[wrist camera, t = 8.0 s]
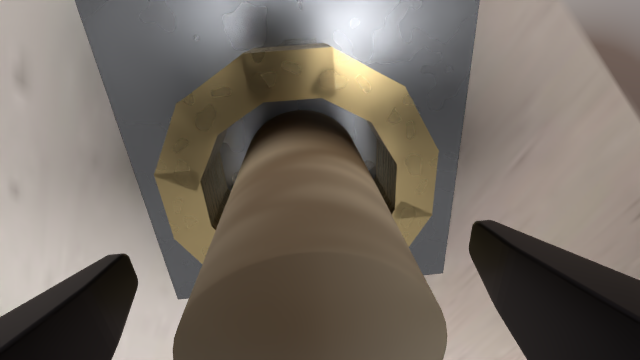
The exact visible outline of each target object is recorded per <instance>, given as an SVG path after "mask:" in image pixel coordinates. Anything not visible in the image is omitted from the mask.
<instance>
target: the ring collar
mask: <svg viewBox="0 0 640 360" xmlns="http://www.w3.org/2000/svg"><path fill="white" fill-rule="evenodd" d="M479 1H480V0H75V2H76V5H77V8H78V11H79V14H80V17H81V20H82V23H83V26H84V28H85V31H86V34H87V37H88V40H89V43H90V46H91V49H92V52H93V54H94V57H95V60H96V63H97V66H98V69H99V72H100V75H101V78H102V81H103V83H104V86H105V89H106V92H107V95H108V98H109V101H110V104H111V107H112V110H113V112H114V115H115V118H116V121H117V124H118V127H119V130H120V133H121V136H122V139H123V141H124V144H125V147H126V150H127V153H128V156H129V159H130V162H131V165H132V168H133V170H134V173H135V176H136V179H137V182H138V185H139V188H140V191H141V194H142V196H143V199H144V202H145V205H146V208H147V211H148V214H149V217H150V220H151V223H152V225H153V228H154V231H155V234H156V237H157V240H158V243H159V246H160V249H161V252H162V254H163V257H164V260H165V263H166V266H167V269H168V272H169V275H170V278H171V281H172V283H173V286H174V289H175V292H176V295H177V298H178V299H187V298H189V297H190V295H191V292H192V290H193V287H194V285H195V282H196V279H197V277H198V274H199V272H200V269H201V267H202V264H203V262H204V259H205V257H206V254H207V251H208V249H209V246H210V244H211V241H212V239H213V236H214V234H215V231H216V229H217V226H218V224H219V221H220V218H221V216H222V213H223V211H224V208H225V206H226V203H227V201H228V198H229V196H230V193H231V190H232V188H233V185H234V183H235V180H236V178H237V175H238V173H239V170H240V168H241V165H242V162H243V160H244V157H245V155H246V152H247V150H248V147H249V145H250V142H251V140H252V138H253V136H254V135H255V134H256V132H257V131H258V130H259V129H260V128H261V126H262V125H264V124H265V123H266V122H267V121H269V120H270V119H272V118H274V117H275V116H277V115H280V114H282V113H286V112H289V111H295V110H309V111H315V112H319V113H322V114H325V115H327V116H329V117H331V118H333V119H334V120H336V121H337V122H338V123H340V124H341V125H342V126H343V127H344V128H345V129H346V131H347V132H348V133H349V135H350V136H351V138H352V140H353V142H354V144H355V146H356V147H357V149H358V151H359V153H360V155H361V157H362V159H363V161H364V163H365V165H366V167H367V169H368V170H369V172H370V174H371V176H372V178H373V180H374V182H375V184H376V186H377V188H378V190H379V192H380V193H381V195H382V197H383V199H384V201H385V203H386V205H387V207H388V209H389V211H390V213H391V214H392V216H393V218H394V220H395V222H396V224H397V226H398V228H399V230H400V232H401V234H402V236H403V237H404V239H405V241H406V243H407V245H408V247H409V249H410V251H411V253H412V255H413V257H414V259H415V260H416V262H417V264H418V266H419V268H420V270H421V272H422V274H423V275H430V274H440V273H443V269H444V261H445V254H446V247H447V239H448V232H449V224H450V217H451V209H452V202H453V195H454V187H455V180H456V172H457V165H458V157H459V150H460V143H461V135H462V128H463V120H464V113H465V105H466V98H467V91H468V83H469V76H470V68H471V61H472V53H473V46H474V39H475V31H476V24H477V16H478V9H479Z"/></svg>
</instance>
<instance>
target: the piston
mask: <svg viewBox="0 0 640 360" xmlns="http://www.w3.org/2000/svg"><path fill="white" fill-rule="evenodd" d="M446 344H447V329H446V322H445V319H444V316H443V313H442V310H441V308H440V306H439V304H438V303H437V301H436V299H435V297H434V295H433V293H432V291H431V289H430V287H429V285H428V283H427V282H426V280H425V278H424V276H423V274H422V272H421V270H420V268H419V266H418V264H417V262H416V260H415V259H414V257H413V255H412V253H411V251H410V249H409V247H408V245H407V243H406V241H405V239H404V237H403V236H402V234H401V232H400V230H399V228H398V226H397V224H396V222H395V220H394V218H393V216H392V214H391V213H390V211H389V209H388V207H387V205H386V203H385V201H384V199H383V197H382V195H381V193H380V192H379V190H378V188H377V186H376V184H375V182H374V180H373V178H372V176H371V174H370V172H369V170H368V169H367V167H366V165H365V163H364V161H363V159H362V157H361V155H360V153H359V151H358V149H357V147H356V146H355V144H354V142H353V140H352V138H351V136H350V135H349V133H348V132H347V131H346V129H345V128H344V127H343V126H342V125H341V124H340V123H338V122H337V121H336V120H334V119H333V118H331V117H329V116H327V115H325V114H322V113H319V112H315V111H309V110H295V111H289V112H286V113H282V114H280V115H277V116H275V117H274V118H272V119H270V120H269V121H267V122H266V123H265V124H264V125H262V126H261V128H260V129H259V130H258V131H257V132H256V134H255V135H254V136H253V138H252V140H251V142H250V145H249V147H248V150H247V152H246V155H245V157H244V160H243V162H242V165H241V168H240V170H239V173H238V175H237V178H236V180H235V183H234V185H233V188H232V190H231V193H230V196H229V198H228V201H227V203H226V206H225V208H224V211H223V213H222V216H221V218H220V221H219V224H218V226H217V229H216V231H215V234H214V236H213V239H212V241H211V244H210V246H209V249H208V251H207V254H206V257H205V259H204V262H203V264H202V267H201V269H200V272H199V274H198V277H197V279H196V282H195V285H194V287H193V290H192V292H191V295H190V297H189V300H188V302H187V305H186V307H185V310H184V313H183V315H182V318H181V320H180V323H179V325H178V328H177V331H176V334H175V337H174V344H173V360H443V357H444V353H445V350H446Z"/></svg>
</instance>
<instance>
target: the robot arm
mask: <svg viewBox="0 0 640 360" xmlns="http://www.w3.org/2000/svg"><path fill="white" fill-rule="evenodd" d="M469 253H470V256H471V258H472V260H473V262H474V264H475V266H476V269H477V271H478V273H479V275H480V277H481V279H482V281H483V283H484V285H485V287H486V289H487V292H488V294H489V296H490V298H491V300H492V302H493V304H494V306H495V307H496V309H497V311H498V313H499V314H500V316H501V318H502V319H503V321H504V323H505V324H506V326H507V327H508V329H509V331H510V332H511V334H512V336H513V337H514V339H515V340H516V342H517V344H518V345H519V347H520V349H521V350H522V352H523V354H524V355H525V357H526V358H527V360H640V280H637V279H635V278H632V277H630V276H628V275H625V274H623V273H620V272H618V271H615V270H613V269H610V268H608V267H605V266H603V265H600V264H598V263H596V262H593V261H591V260H588V259H586V258H583V257H581V256H578V255H576V254H573V253H571V252H569V251H566V250H564V249H561V248H559V247H556V246H554V245H551V244H549V243H546V242H544V241H541V240H539V239H537V238H534V237H532V236H529V235H527V234H524V233H522V232H519V231H517V230H514V229H512V228H510V227H507V226H505V225H502V224H500V223H497V222H495V221H492V220H483V221H476V222H475V223H474V224H473V226H472V232H471V237H470V243H469ZM137 287H138V279H137V275H136V273H135V271H134V268H133V266H132V263H131V261H130V258H129V256H128V255H126V254H113V255H107V256H105V257H104V258H102V259H100V260H98V261H97V262H95V263H93V264H92V265H90V266H88V267H86V268H85V269H83V270H81V271H79V272H78V273H76V274H74V275H72V276H71V277H69V278H67V279H66V280H64V281H62V282H60V283H59V284H57V285H55V286H53V287H52V288H50V289H48V290H46V291H45V292H43V293H41V294H39V295H38V296H36V297H34V298H33V299H31V300H29V301H27V302H26V303H24V304H22V305H20V306H19V307H17V308H15V309H13V310H12V311H10V312H8V313H6V314H5V315H3V316H1V317H0V360H112V357H113V355H114V353H115V350H116V348H117V346H118V343H119V340H120V338H121V335H122V332H123V329H124V326H125V323H126V320H127V317H128V314H129V311H130V308H131V305H132V302H133V299H134V296H135V293H136V290H137Z"/></svg>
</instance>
